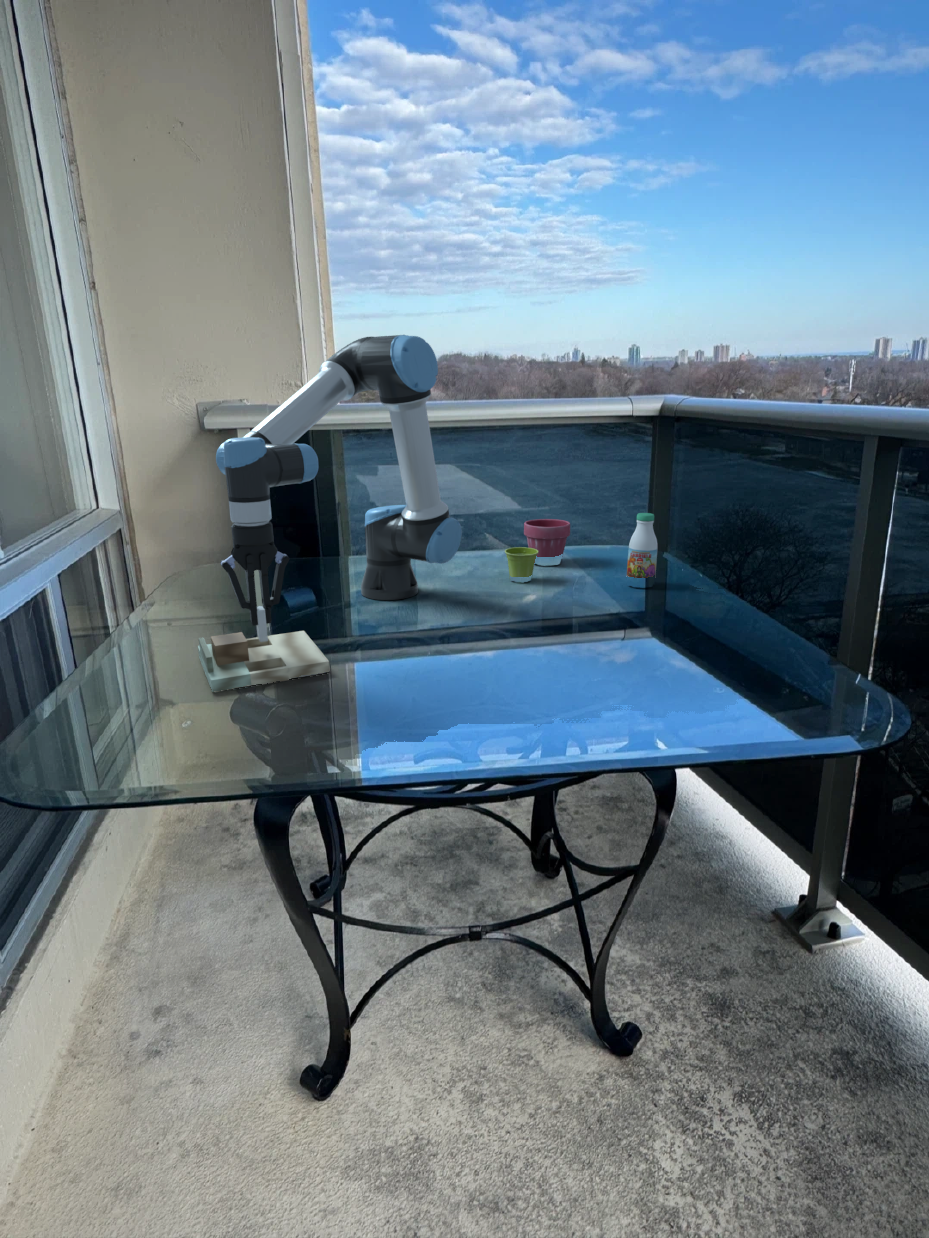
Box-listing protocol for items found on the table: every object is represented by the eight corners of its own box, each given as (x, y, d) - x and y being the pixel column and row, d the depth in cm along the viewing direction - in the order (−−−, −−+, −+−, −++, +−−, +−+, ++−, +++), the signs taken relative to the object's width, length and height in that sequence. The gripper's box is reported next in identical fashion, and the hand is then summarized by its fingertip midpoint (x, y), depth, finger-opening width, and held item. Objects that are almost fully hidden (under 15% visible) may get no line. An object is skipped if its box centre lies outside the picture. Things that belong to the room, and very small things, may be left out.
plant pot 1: (538, 585, 204) (539, 554, 202) (504, 585, 204) (505, 554, 202) (536, 576, 213) (537, 547, 210) (503, 576, 213) (504, 547, 211)
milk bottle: (625, 581, 208) (630, 511, 202) (652, 582, 207) (658, 511, 201) (626, 588, 201) (632, 516, 195) (655, 589, 200) (662, 516, 194)
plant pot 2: (522, 557, 235) (523, 518, 231) (566, 558, 235) (567, 518, 231) (524, 568, 222) (525, 526, 218) (571, 569, 221) (572, 527, 217)
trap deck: (304, 641, 161) (302, 617, 159) (329, 673, 144) (328, 646, 142) (199, 657, 152) (196, 631, 150) (212, 692, 135) (209, 664, 133)
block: (243, 650, 148) (241, 632, 147) (249, 660, 143) (247, 641, 142) (212, 655, 146) (210, 636, 145) (217, 665, 141) (214, 645, 140)
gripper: (281, 516, 145) (291, 629, 152) (212, 521, 140) (226, 638, 147) (290, 522, 138) (299, 640, 146) (218, 528, 133) (232, 650, 141)
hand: (262, 639), depth 146 cm, fingers closed
